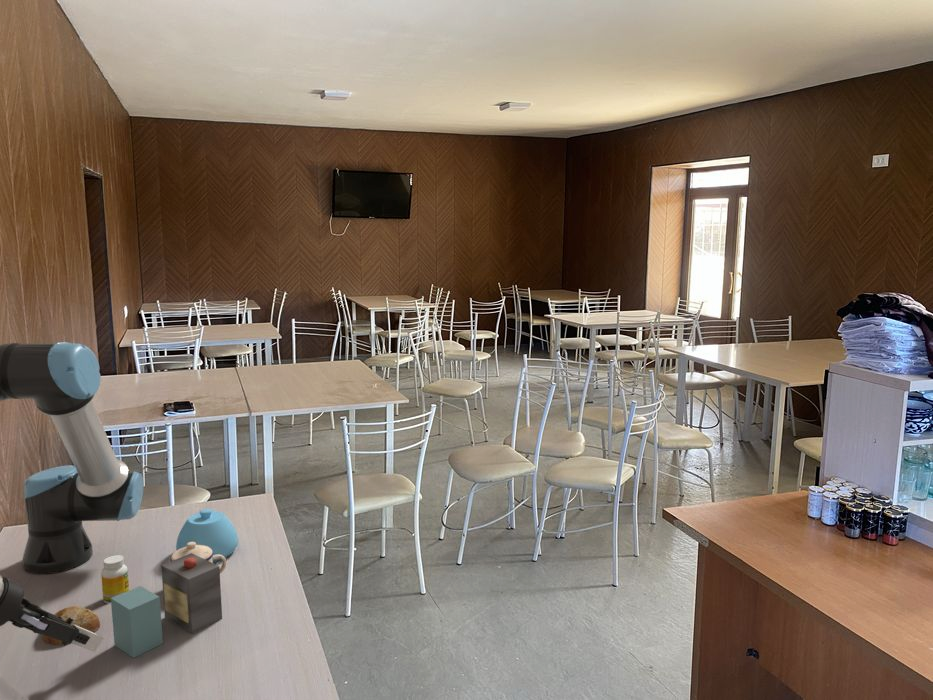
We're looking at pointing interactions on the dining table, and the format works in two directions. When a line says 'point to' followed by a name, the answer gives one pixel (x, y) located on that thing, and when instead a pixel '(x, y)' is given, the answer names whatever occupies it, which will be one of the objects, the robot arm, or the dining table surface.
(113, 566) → the supplement bottle
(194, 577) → the switch base
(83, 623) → the bread roll
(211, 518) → the sugar bowl
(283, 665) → the dining table surface
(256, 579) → the dining table surface
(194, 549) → the teacup with lid
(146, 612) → the teal rectangular block
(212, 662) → the dining table surface
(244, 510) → the dining table surface
